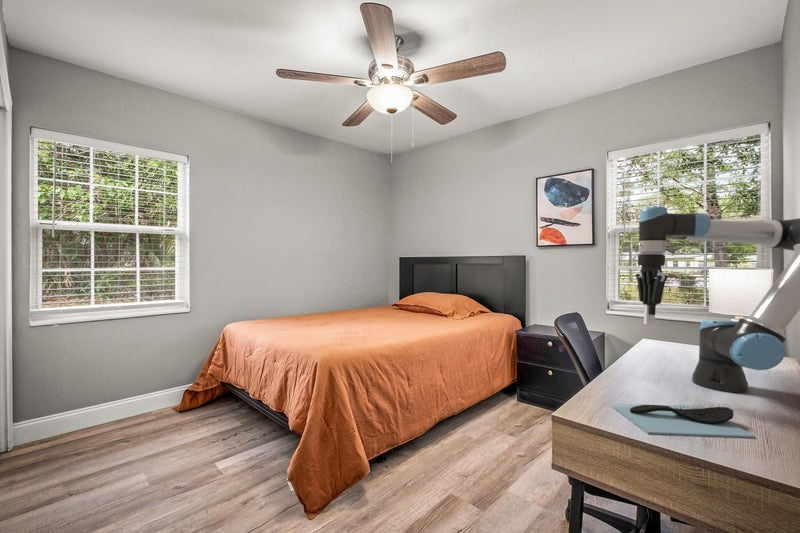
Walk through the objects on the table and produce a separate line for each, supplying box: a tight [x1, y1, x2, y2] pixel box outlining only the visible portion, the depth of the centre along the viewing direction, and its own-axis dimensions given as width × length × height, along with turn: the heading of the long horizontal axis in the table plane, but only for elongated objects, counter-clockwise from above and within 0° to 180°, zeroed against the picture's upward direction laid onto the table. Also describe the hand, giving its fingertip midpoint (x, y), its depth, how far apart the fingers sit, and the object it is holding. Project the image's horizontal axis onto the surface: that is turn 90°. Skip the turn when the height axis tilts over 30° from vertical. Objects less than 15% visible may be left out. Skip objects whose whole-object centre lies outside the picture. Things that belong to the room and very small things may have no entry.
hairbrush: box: [630, 403, 734, 424], centre depth 103 cm, size 8×4×25 cm
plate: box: [606, 402, 756, 439], centre depth 103 cm, size 26×20×1 cm
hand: (649, 324), depth 125 cm, fingers closed
